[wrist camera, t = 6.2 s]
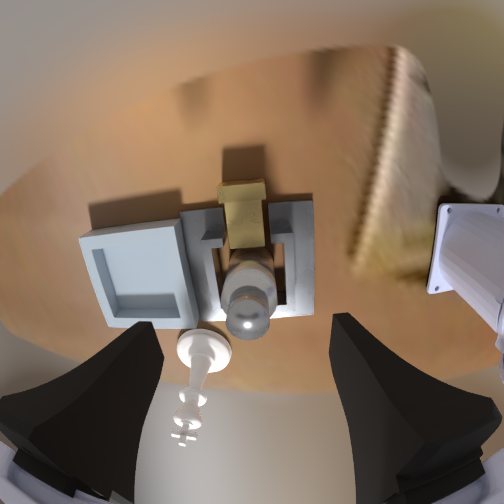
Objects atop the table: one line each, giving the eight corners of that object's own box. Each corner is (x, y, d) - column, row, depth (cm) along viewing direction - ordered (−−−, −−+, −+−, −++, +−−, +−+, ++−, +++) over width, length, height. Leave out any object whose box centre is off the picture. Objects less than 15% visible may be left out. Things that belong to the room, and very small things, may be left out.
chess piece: (174, 325, 22) (137, 419, 13) (231, 330, 22) (217, 432, 13) (181, 364, 24) (155, 451, 15) (231, 370, 24) (221, 462, 15)
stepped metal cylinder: (272, 242, 19) (278, 294, 13) (274, 283, 20) (280, 345, 14) (226, 246, 19) (210, 298, 13) (232, 285, 21) (221, 348, 14)
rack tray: (182, 217, 19) (173, 226, 17) (200, 313, 22) (196, 328, 20) (91, 229, 19) (78, 238, 17) (117, 314, 22) (108, 327, 20)
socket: (311, 199, 18) (317, 205, 16) (312, 311, 21) (316, 326, 19) (180, 210, 18) (172, 218, 17) (202, 318, 22) (197, 333, 20)
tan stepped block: (264, 178, 18) (264, 182, 15) (268, 235, 19) (270, 246, 17) (221, 182, 18) (216, 187, 16) (228, 238, 19) (225, 250, 17)
